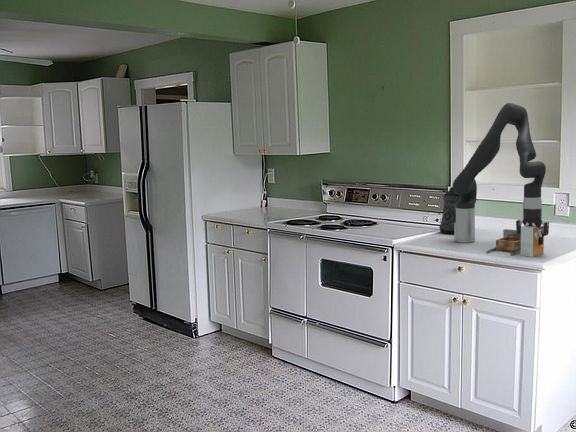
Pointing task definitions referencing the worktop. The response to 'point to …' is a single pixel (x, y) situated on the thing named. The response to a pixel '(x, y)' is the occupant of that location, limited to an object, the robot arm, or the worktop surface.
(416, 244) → the worktop surface
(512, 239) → the socket block
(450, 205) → the beer stein
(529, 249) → the small box
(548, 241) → the worktop surface
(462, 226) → the robot arm
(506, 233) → the backstop track
